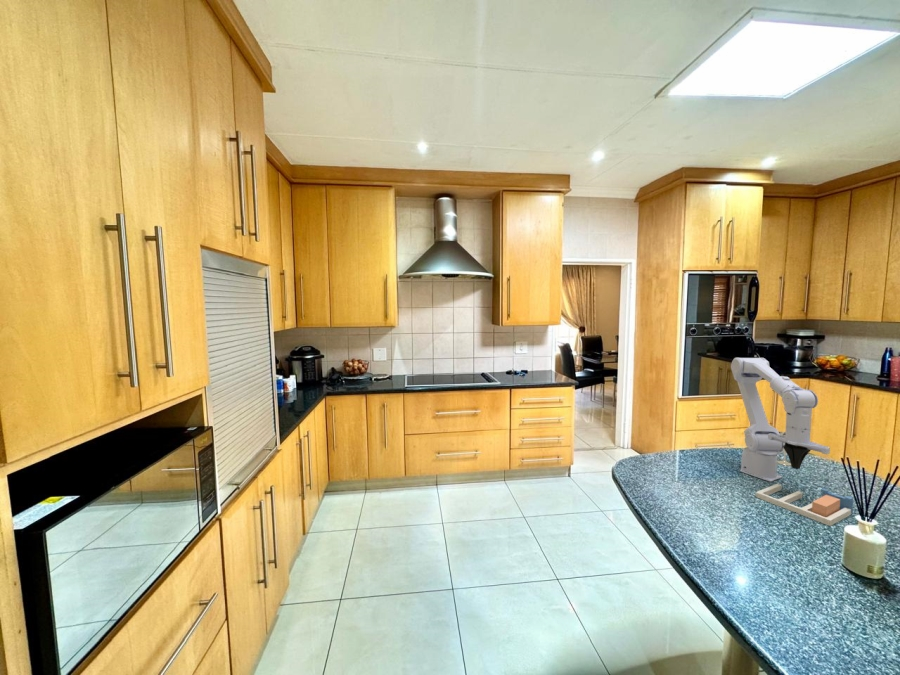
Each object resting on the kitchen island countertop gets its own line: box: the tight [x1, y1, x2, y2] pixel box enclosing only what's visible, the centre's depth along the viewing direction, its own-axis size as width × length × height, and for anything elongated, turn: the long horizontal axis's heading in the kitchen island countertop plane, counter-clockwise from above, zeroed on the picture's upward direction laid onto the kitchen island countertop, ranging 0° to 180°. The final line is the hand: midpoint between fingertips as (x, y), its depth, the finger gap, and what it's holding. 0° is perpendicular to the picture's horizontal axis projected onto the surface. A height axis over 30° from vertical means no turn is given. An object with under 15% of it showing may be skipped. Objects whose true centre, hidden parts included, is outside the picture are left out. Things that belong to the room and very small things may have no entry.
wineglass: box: [777, 431, 791, 467], centre depth 138 cm, size 6×6×12 cm
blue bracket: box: [820, 487, 854, 515], centre depth 106 cm, size 6×2×5 cm, turn 24°
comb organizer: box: [755, 483, 852, 527], centre depth 109 cm, size 17×13×2 cm
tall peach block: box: [811, 495, 840, 517], centre depth 103 cm, size 3×9×4 cm, turn 115°
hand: (795, 467), depth 114 cm, fingers closed
